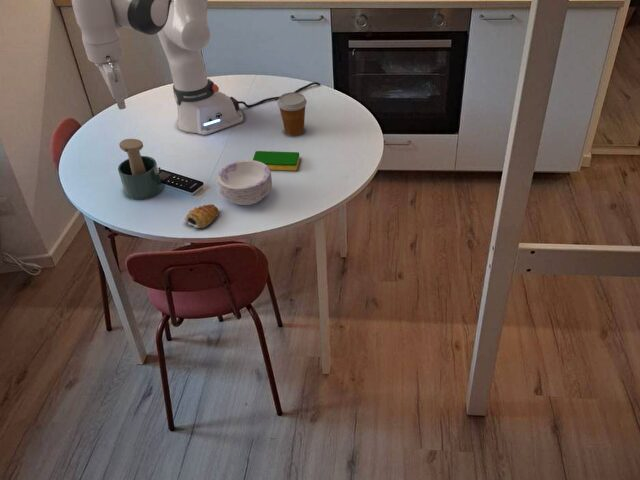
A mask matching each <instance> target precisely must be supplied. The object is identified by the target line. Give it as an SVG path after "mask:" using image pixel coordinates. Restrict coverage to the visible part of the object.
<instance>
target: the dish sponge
mask: <svg viewBox="0 0 640 480" xmlns="http://www.w3.org/2000/svg"><path fill="white" fill-rule="evenodd" d="M300 159H301V157H300V152H299V151H296V152H295V151H272V150H271V151H270V150H269V151H267V150H265V151H264V150H256V151H255V152H254V155H253V158H252V160H254V161H259V162H262V163H264V164H265V165H267V166H268V167H269V169H270V171H294V172H295V171H296V172H297V171H298V167H299V163H300Z"/></svg>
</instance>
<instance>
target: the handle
mask: <svg viewBox="0 0 640 480" xmlns="http://www.w3.org/2000/svg"><path fill="white" fill-rule="evenodd" d="M118 145H119V149H120V150H122V151H123V152H125V153H126V154H127V159H129V162H130V167H131V171H132V175H140V174H144V173H146V169H145V166H144V164H143V161H142V158H141V156H142V155H141V150H142V149H143V148H144V143H143V141H142V140H140V139H137V138H124V139H123V140H121V141H119V144H118Z"/></svg>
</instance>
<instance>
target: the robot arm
mask: <svg viewBox="0 0 640 480" xmlns="http://www.w3.org/2000/svg"><path fill="white" fill-rule="evenodd" d="M71 5H72V9H73V13H74V17H75V21H76V24H77V26H78V27H79V29H80V31H81V41H82V44H83V47H84V50H85V51H84V52H85V55H86V57H87V60H88V61H90V63H94V65H95V66H96V67H97V68H98V70H99V72H100V73H101V75H102V77H103V80H104V82H105V83H106V86H107V88H108V90H109V93H110V95H111V97H112V98H113V99H114V100H115V101H116V105H117V108H118V109H119V111H120V110H125V109H126V108H127V106H126V103H125V99H126V98H128V96H129V94H128V89H127V86H126V83H125V79H124V76H123V72H122V70H121V68H120V66H119V64H120V63H121V62H122V61H121V59H122V58H123V57H124V55H125V52H124V48H123V45H122V44H123V43H122V40H121V36H120V33H119V28H120V29H121V28H125V29H130V30H133V31H134V30H135V31H137V32H139V33H142V34H145V35H148V36H153V35H156V34H157V37H158V40H159V42H160V44H161V45H160V46H161V47H162V50H163V52H164V54H165V57H166V60H167V62H168V65H169V66H168V67H169V70H170V75H171V79H172V84H173V85H172V89H173V90H172V91H173V92H172V93H173V96H174V101H175V103H176V106H177V124H176V125H177V128H178V129H179V130H181V131H183V132H185V133H191V134H199V135H203V136H206V135H207V136H208V135H210V134H212V133H215V132H218V131H221V130H223V129H226V128H229V127H232V126H234V125H237V124H240V123H243V121H244V115H243V112H242V110H241V109H240V104H242V105H244V106H245V108H252V107H255V106H258V105H261V104H262V103H265V102H268V101H273V100H279V97H280V96H281V95H280V96H273V97H272V96H271V97H267V98H264V99H262V100H260V101H258V102H256V103H253V104H247V103H246V102H245V101H243V100H238V99H236V98H235V97H233V96H228V95H227V94H226V93H224V92H221V91H219V90H220V88H219V86H218V85H217V84H215V82H214V81H212V80H211V79H210V78H208V74H207V69H206V64H205V63H206V62H205V59H204V56H203V54H202V53H201V50H203V49H205V48H206V46H207V45H209V42H210V38H211V31H210V28H209V24H208V0H71ZM314 85H317V86H321V83H319V82H317V81H313V82H310V83H308V84H306V85H303V86H302V87H300V88H297V89H296V90H295V91H293V92H294V93H300V91H302V90H305V89H307V88H308V87H311V86H314Z"/></svg>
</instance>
